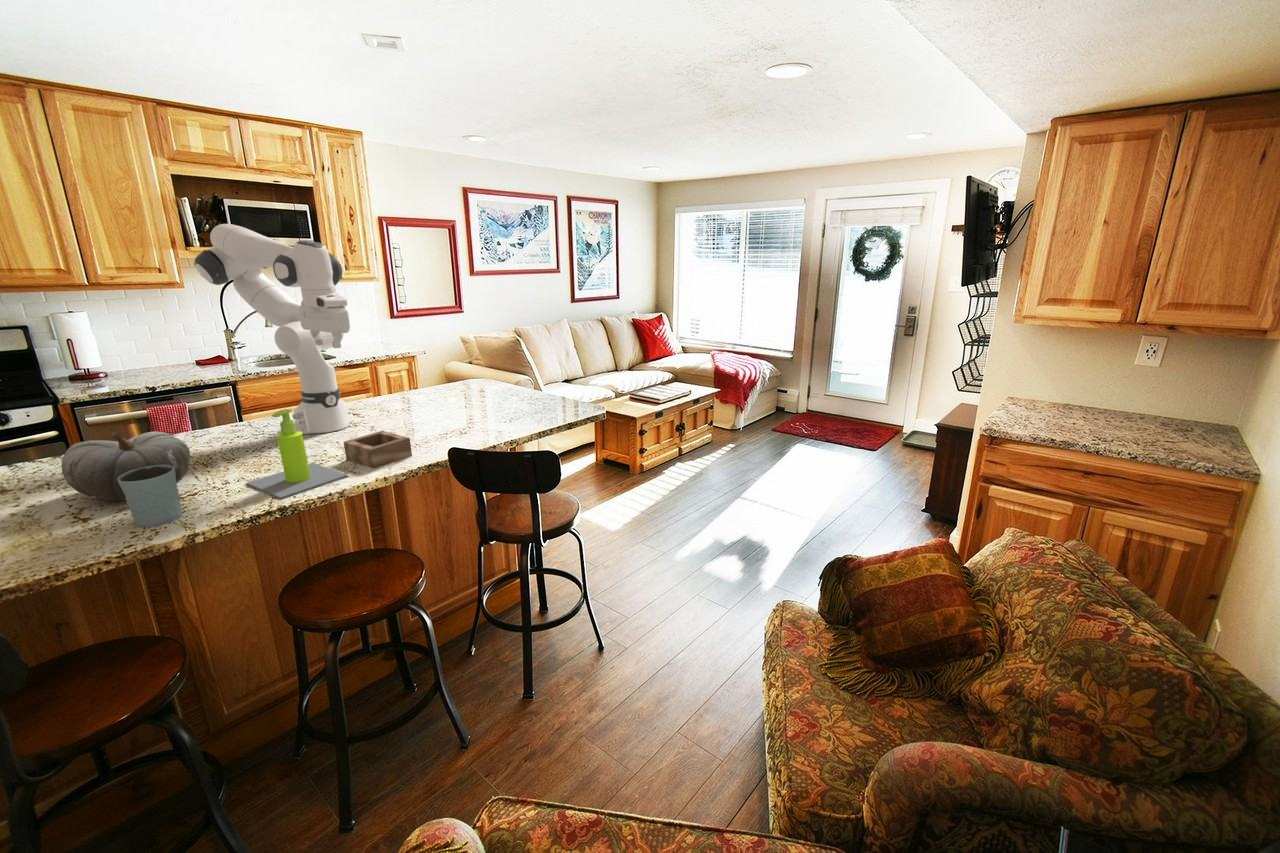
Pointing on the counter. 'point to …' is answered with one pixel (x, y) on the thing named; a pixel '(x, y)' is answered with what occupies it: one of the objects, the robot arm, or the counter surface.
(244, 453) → the counter surface
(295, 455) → the soap dispenser
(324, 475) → the slate mat
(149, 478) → the blue gray cup
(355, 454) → the box
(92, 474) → the gourd
